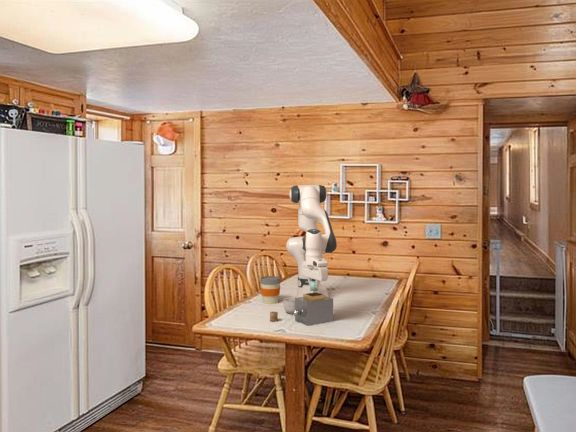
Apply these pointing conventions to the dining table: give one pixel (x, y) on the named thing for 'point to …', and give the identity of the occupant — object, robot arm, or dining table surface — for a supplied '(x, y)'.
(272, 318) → the bead walnut
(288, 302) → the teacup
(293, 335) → the dining table surface
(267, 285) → the reusable coffee cup
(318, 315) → the box
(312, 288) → the bead teal
